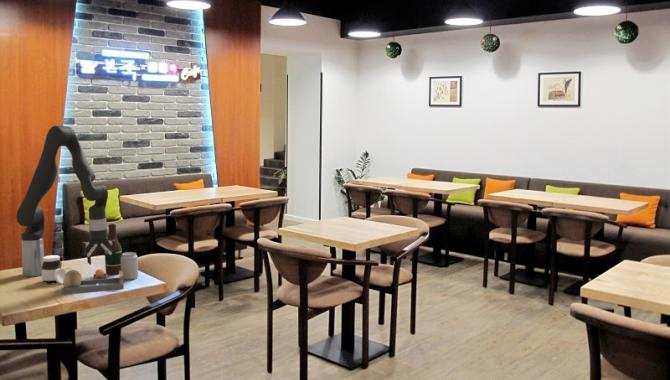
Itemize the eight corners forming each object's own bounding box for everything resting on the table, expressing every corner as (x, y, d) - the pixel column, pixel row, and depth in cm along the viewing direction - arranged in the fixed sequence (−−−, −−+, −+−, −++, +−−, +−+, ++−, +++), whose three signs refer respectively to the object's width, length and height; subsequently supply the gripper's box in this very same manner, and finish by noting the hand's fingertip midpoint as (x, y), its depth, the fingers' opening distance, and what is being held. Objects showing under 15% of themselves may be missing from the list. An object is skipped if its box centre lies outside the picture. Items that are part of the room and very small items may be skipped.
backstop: (119, 288, 275) (119, 276, 275) (119, 282, 286) (119, 270, 285) (123, 288, 276) (123, 276, 275) (123, 281, 286) (122, 269, 285)
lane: (62, 293, 268) (61, 288, 267) (64, 286, 278) (63, 282, 278) (119, 288, 275) (119, 283, 275) (119, 282, 286) (119, 277, 285)
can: (133, 280, 288) (132, 255, 286) (118, 280, 289) (117, 254, 288) (141, 276, 295) (140, 251, 294) (126, 275, 297) (125, 251, 295)
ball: (95, 278, 284) (94, 270, 283) (95, 276, 288) (95, 268, 287) (104, 278, 285) (104, 269, 285) (104, 275, 289) (104, 267, 288)
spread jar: (48, 279, 291) (46, 254, 290) (73, 278, 292) (71, 254, 291) (38, 286, 279) (37, 260, 278) (64, 285, 280) (63, 260, 279)
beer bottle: (126, 272, 302) (124, 223, 299) (112, 276, 296) (110, 226, 293) (115, 270, 307) (113, 222, 304) (102, 273, 300) (99, 224, 297)
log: (63, 291, 269) (62, 275, 268) (65, 286, 277) (64, 270, 276) (81, 289, 271) (80, 274, 270) (82, 284, 279) (81, 269, 278)
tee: (93, 283, 283) (92, 277, 282) (93, 280, 288) (93, 274, 288) (107, 282, 285) (106, 276, 284) (107, 279, 290) (107, 273, 290)
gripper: (114, 226, 289) (116, 260, 292) (81, 228, 285) (83, 263, 287) (114, 228, 282) (116, 263, 285) (80, 231, 278) (83, 266, 280)
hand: (100, 263), depth 286 cm, fingers open, 8 cm apart
